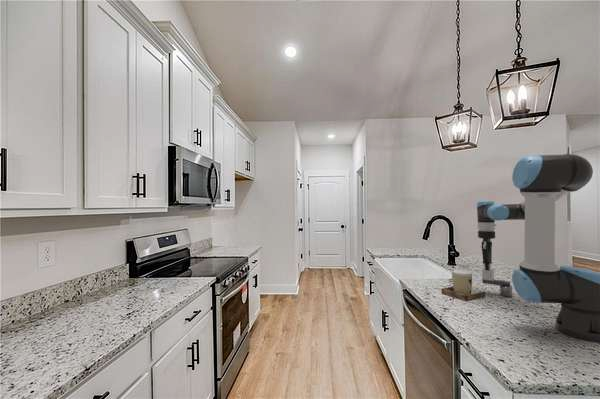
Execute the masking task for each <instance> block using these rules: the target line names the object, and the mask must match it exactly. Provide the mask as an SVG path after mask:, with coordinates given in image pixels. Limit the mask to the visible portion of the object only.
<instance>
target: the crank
mask: <svg viewBox="0 0 600 399" xmlns="http://www.w3.org/2000/svg"><path fill="white" fill-rule="evenodd" d="M481 278H482V279H481V280H482V282H481V283H482V284H484V285H485V284H487V285H494V286H495V285H496V286H500V285H501V286H511V281H509V280H500V279H495V270H494V268H491V277H487V276H485V273H484V267H482V268H481Z"/></svg>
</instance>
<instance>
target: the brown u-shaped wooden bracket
mask: <svg viewBox="0 0 600 399" xmlns="http://www.w3.org/2000/svg"><path fill="white" fill-rule="evenodd" d="M441 294H442V295H446V296H448V297H452V298H455V299H458V300H462V301H463V302H464V301H465V302H470V301H474V300H478V299H482V298H485V297H486V292H485V291H483V290H482V291H478V292H475V293H474V292H473V293H471V294H469V295H463V294H460V293H457V292H454V289H453V285H452V286H448V287H443V288H441Z"/></svg>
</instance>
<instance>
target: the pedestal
mask: <svg viewBox="0 0 600 399" xmlns="http://www.w3.org/2000/svg"><path fill="white" fill-rule="evenodd" d="M499 294H500V296H501V297H503V298H513V286H512V285H510V286H501V285H499Z"/></svg>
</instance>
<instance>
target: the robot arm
mask: <svg viewBox="0 0 600 399" xmlns="http://www.w3.org/2000/svg"><path fill="white" fill-rule="evenodd" d="M593 169H594V168H593V166H592V164H591V163H590V162H589V161H588V159H586V158H585V157H583V156H580V155H578V154H572V153H567V154H566V153H565V154H545V155H544V154H543V155H541V154H539V155H529V156H524V157H522V158H520V159H519V160H518V161H517V163H516V164H515V165H514V168H513V169H512V170H513V171H512V176H511V177H512V178H511V179H512V183H513V185H514V187H515V188H517V189H519V193H520V195H522V196H523V197H524V200H523V201H522V202H520V203H513V204H512V203H511V204H510V203H509V204H508V203H507V204H498V203H495V202H494V201H493V200H478V201H477V202H476V212H477V214H476V215H477V217H476V218H477V230H478V231H477V238H479V239H482V241H481V246H480V247H481V253H482V262H481V263H482V264H483V265H484V266H483V268H484V273H485V276H487V277H491V269H492V264H493V262H494V261H492V258H493V256H492V253H493V251H492V248H493V242H492V241H491V240H492V239H495V238H496V231H495V230H496V227H497V224H495V221H507V220H508V221H514V220H516V221H517V220H518V221H522V220H524V260H522V261H521V262H519V268H518V269H517V268H516V269H515V270H513V271H512V273H511V281H512V284H513V288H514V289H515V293H517V295H518V296H519V297H520V299H522V301H524V302H527V303H535V304H560V309H559V311H558V314H557V317H556V319H555V328H556V330H558V331H559V332H561V333H563V334H565V335H567V336H570V337H573V338H577V339H580V340H583V341H584V340H585V341H590V342H595V343H596V342H597V343H600V272H598V271H596V270H592V269H588V268H582V267H577V266H569V265H561V266H558V265H557V264H556V263H555V262H556V260H555V259H556V258H555V257H556V252H555V251H556V250H555V248H556V202H557V201H558V200H560V199H561V198H563V197H564V196H566V195H568V194H569V193H573V192H577V191H580V190H581V189H582V188H584V187H586V185H587V184H588V183H589V182H590V181H591V180H592V177H593V174H594V170H593Z"/></svg>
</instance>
